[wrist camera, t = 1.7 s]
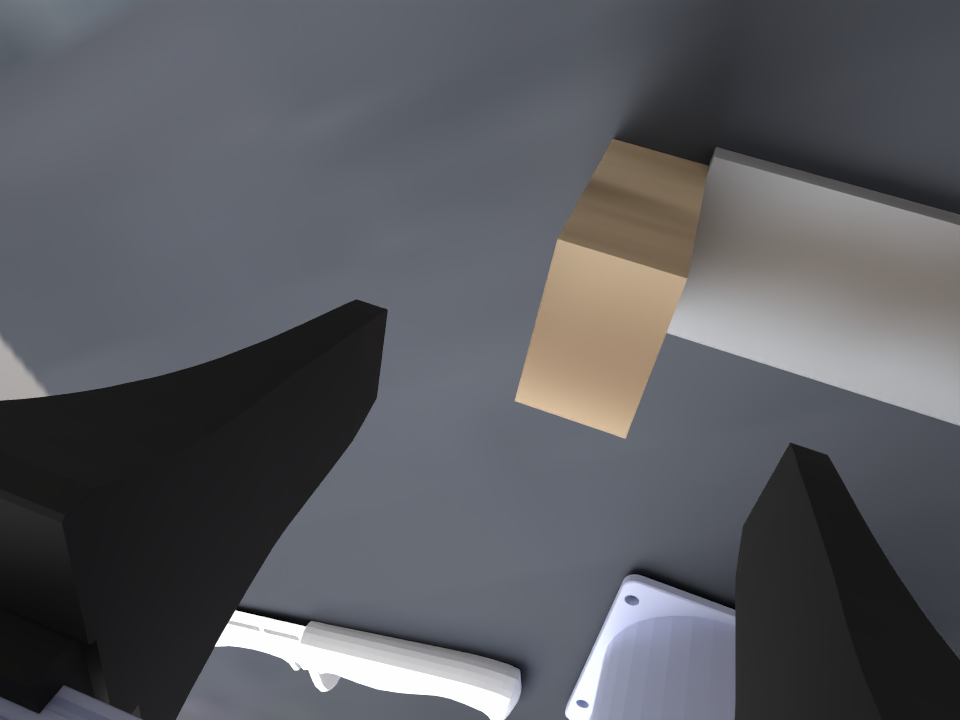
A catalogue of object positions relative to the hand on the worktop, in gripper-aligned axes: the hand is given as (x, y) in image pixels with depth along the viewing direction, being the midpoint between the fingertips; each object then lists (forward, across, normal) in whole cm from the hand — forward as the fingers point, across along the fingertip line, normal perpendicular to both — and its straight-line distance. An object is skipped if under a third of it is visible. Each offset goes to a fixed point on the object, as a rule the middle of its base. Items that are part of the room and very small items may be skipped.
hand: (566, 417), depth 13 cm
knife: (+10, +12, +28) cm, 32 cm away
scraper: (+9, -9, 0) cm, 13 cm away
